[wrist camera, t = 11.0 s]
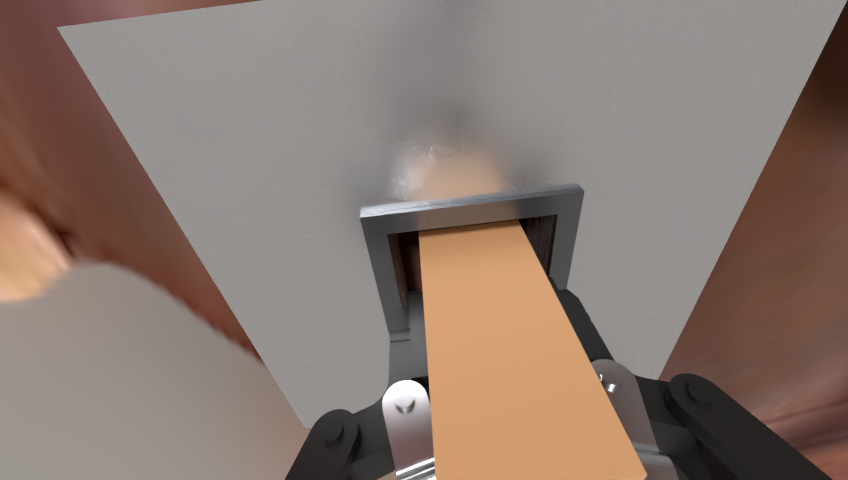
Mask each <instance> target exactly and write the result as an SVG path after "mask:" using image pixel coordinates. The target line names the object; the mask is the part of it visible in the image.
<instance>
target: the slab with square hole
mask: <svg viewBox="0 0 848 480" xmlns="http://www.w3.org/2000/svg"><path fill="white" fill-rule="evenodd" d="M846 2H847V0H263V1H255V2H248V3H240V4H232V5H225V6H217V7H209V8H201V9H194V10H186V11H178V12H171V13H163V14H155V15H148V16H140V17H132V18H125V19H117V20H109V21H102V22H94V23H86V24H79V25H71V26H63V27H57V29H58V30H59V32H60V33H61V35H62V37H63V38H64V40H65V41H66V43H67V45H68V46H69V48H70V50H71V51H72V53H73V54H74V56H75V58H76V59H77V61H78V62H79V64H80V66H81V67H82V69H83V71H84V72H85V74H86V75H87V77H88V79H89V80H90V82H91V83H92V85H93V87H94V88H95V90H96V92H97V93H98V95H99V96H100V98H101V100H102V101H103V103H104V104H105V106H106V108H107V109H108V111H109V113H110V114H111V116H112V117H113V119H114V121H115V122H116V124H117V126H118V127H119V129H120V130H121V132H122V134H123V135H124V137H125V138H126V140H127V142H128V143H129V145H130V147H131V148H132V150H133V151H134V153H135V155H136V156H137V158H138V159H139V161H140V163H141V164H142V166H143V168H144V169H145V171H146V172H147V174H148V176H149V177H150V179H151V180H152V182H153V184H154V185H155V187H156V189H157V190H158V192H159V193H160V195H161V197H162V198H163V200H164V201H165V203H166V205H167V206H168V208H169V210H170V211H171V213H172V214H173V216H174V218H175V219H176V221H177V222H178V224H179V226H180V227H181V229H182V231H183V232H184V234H185V235H186V237H187V239H188V240H189V242H190V243H191V245H192V247H193V248H194V250H195V252H196V253H197V255H198V256H199V258H200V260H201V261H202V263H203V264H204V266H205V268H206V269H207V271H208V273H209V274H210V276H211V277H212V279H213V281H214V282H215V284H216V285H217V287H218V289H219V290H220V292H221V294H222V295H223V297H224V298H225V300H226V302H227V303H228V305H229V306H230V308H231V310H232V311H233V313H234V315H235V316H236V318H237V319H238V321H239V323H240V324H241V326H242V327H243V329H244V331H245V332H246V334H247V336H248V337H249V339H250V340H251V342H252V344H253V345H254V347H255V349H256V350H257V352H258V353H259V355H260V357H261V358H262V360H263V361H264V363H265V365H266V366H267V368H268V370H269V371H270V373H271V374H272V376H273V378H274V379H275V381H276V382H277V384H278V386H279V387H280V389H281V391H282V392H283V394H284V395H285V397H286V399H287V400H288V402H289V403H290V405H291V407H292V408H293V410H294V412H295V413H296V415H297V416H298V418H299V420H300V421H301V423H302V424H303V426H304V428H311V427H313V426H314V424H315V423H316V421H317V420H318V419H319V418H320V417H321V416H322V415H324V414H325V413H327V412H329V411H332V410H336V409H344V410H347V411H349V412H351V413H352V414H354V413H356V412H358V411H360V410H363V409H365V408H367V407H369V406H371V405H373V404H374V403H376V402H377V401H378V400H379V399H380V398H381V397H382V396H383V394H384V393H385V391H386V389H387V386H388V380H389V352H390V322H391V317H392V315H393V313H394V311H395V310H396V308H398V307H407V306H409V292H414V291H408V288H407V283H406V277H405V272H404V267H403V261H402V256H401V250H400V245H399V239H398V234H397V233H402V232H410V231H419V230H428V229H436V228H445V227H453V226H462V225H471V224H479V223H488V222H496V221H505V220H513V219H522V218H526V226H525V234H526V236H527V238H528V240H529V242H530V244H531V246H532V248H533V250H534V252H535V254H536V256H537V258H538V260H539V262H540V264H541V266H542V268H543V270H544V272H545V274H546V276H547V277H552V279H553V280H554V282H555V284H556V286H557V288H558V290H561V289H568V290H569V291H571V292H572V293H573V294H574V295H575V296H577V297H578V298H579V300H580V301H581V303H582V305H583V306H584V308H585V311H586V312H587V313H588V315H589V317H590V319H591V322H593V324H594V326H595V327H596V329H597V331H598V333H599V334H600V336H601V338H602V340H603V341H604V343H605V345H606V347H607V348H608V350H609V352H610V354H611V355H612V357H613V358H614V360H615V361H616V362H618V363H620V364H622V365H623V366H625V367H626V368H627V369H628V370H630V371H631V373H632V374H634V375H637V376H640V377H644V378H649V379H654V380H658V378H659V376H660V374H661V372H662V370H663V368H664V366H665V364H666V362H667V360H668V358H669V356H670V354H671V352H672V350H673V348H674V346H675V344H676V342H677V340H678V338H679V336H680V334H681V332H682V330H683V328H684V326H685V324H686V322H687V320H688V318H689V316H690V314H691V312H692V310H693V308H694V306H695V304H696V302H697V300H698V298H699V296H700V294H701V292H702V290H703V288H704V286H705V284H706V282H707V280H708V278H709V276H710V274H711V272H712V270H713V268H714V266H715V264H716V262H717V260H718V258H719V256H720V254H721V252H722V250H723V248H724V246H725V244H726V242H727V240H728V238H729V236H730V234H731V232H732V230H733V228H734V226H735V224H736V222H737V220H738V218H739V216H740V214H741V212H742V210H743V208H744V206H745V204H746V202H747V200H748V198H749V196H750V194H751V192H752V190H753V188H754V186H755V184H756V182H757V180H758V178H759V176H760V174H761V172H762V170H763V168H764V166H765V164H766V162H767V160H768V158H769V156H770V154H771V152H772V150H773V148H774V146H775V144H776V142H777V140H778V138H779V136H780V134H781V132H782V130H783V128H784V126H785V124H786V122H787V120H788V118H789V116H790V114H791V112H792V110H793V108H794V106H795V104H796V102H797V100H798V98H799V96H800V94H801V92H802V90H803V88H804V86H805V84H806V82H807V80H808V78H809V76H810V74H811V72H812V70H813V68H814V66H815V64H816V62H817V60H818V58H819V56H820V54H821V52H822V50H823V48H824V46H825V44H826V42H827V40H828V38H829V36H830V34H831V32H832V30H833V28H834V26H835V24H836V22H837V20H838V18H839V16H840V14H841V12H842V10H843V8H844V6H845V4H846ZM416 291H423V290H416Z"/></svg>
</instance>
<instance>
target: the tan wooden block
mask: <svg viewBox="0 0 848 480" xmlns="http://www.w3.org/2000/svg"><path fill="white" fill-rule="evenodd" d="M419 246H420V260H421V275H422V289H423V304H424V318H425V333H426V347H427V362H428V376H429V391H430V405H431V419H432V434H433V448H434V463H435V477H436V480H644V479H645V478H646V476H647V473H646V471H645V469H644V467H643V465H642V463H641V461H640V459H639V457H638V455H637V453H636V451H635V449H634V447H633V445H632V443H631V441H630V440H629V438H628V436H627V434H626V432H625V430H624V428H623V426H622V424H621V422H620V420H619V418H618V416H617V414H616V412H615V410H614V408H613V406H612V404H611V402H610V400H609V398H608V396H607V394H606V392H605V390H604V388H603V386H602V384H601V382H600V380H599V378H598V376H597V374H596V372H595V371H594V369H593V367H592V365H591V363H590V361H589V359H588V357H587V355H586V353H585V351H584V349H583V347H582V345H581V343H580V341H579V339H578V337H577V335H576V333H575V331H574V329H573V327H572V325H571V323H570V321H569V319H568V317H567V315H566V313H565V311H564V309H563V307H562V305H561V303H560V302H559V300H558V298H557V296H556V294H555V292H554V290H553V288H552V286H551V284H550V282H549V280H548V278H547V276H546V274H545V272H544V270H543V268H542V266H541V264H540V262H539V260H538V258H537V256H536V254H535V252H534V250H533V248H532V246H531V244H530V242H529V240H528V238H527V236H526V234H525V233H524V231H523V229H522V227H521V225H520V223H519V221H518V220H514V221H505V222H497V223H488V224H479V225H471V226H462V227H454V228H445V229H436V230H428V231H419Z"/></svg>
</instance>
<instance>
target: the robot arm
mask: <svg viewBox="0 0 848 480" xmlns="http://www.w3.org/2000/svg"><path fill="white" fill-rule="evenodd" d="M547 278H548V280H549V282H550V284H551V286H552V288H553V290H554V292H555V294H556V296H557V298H558V300H559V302H560V303H561V305H562V307H563V309H564V311H565V313H566V315H567V317H568V319H569V321H570V323H571V325H572V327H573V329H574V331H575V333H576V335H577V337H578V339H579V341H580V343H581V345H582V347H583V349H584V351H585V353H586V355H587V357H588V359H589V361H590V363H591V365H592V367H593V369H594V371H595V372H596V374H597V376H598V378H599V380H600V382H601V384H602V386H603V388H604V390H605V392H606V394H607V396H608V398H609V400H610V402H611V404H612V406H613V408H614V410H615V412H616V414H617V416H618V418H619V420H620V422H621V424H622V426H623V428H624V430H625V432H626V434H627V436H628V438H629V440H630V441H631V443H632V445H633V447H634V449H635V451H636V453H637V455H638V457H639V459H640V461H641V463H642V465H643V467H644V469H645V471H646V473H647V476H646V478H645V479H644V480H832V479H831V478H830V477H829V476H827V475H826V474H825V473H824V472H822V471H821V470H820V469H819V468H818V467H816V466H815V465H814V464H813V463H811V462H810V461H809V460H808V459H806V458H805V457H804V456H803V455H801V454H800V453H799V452H798V451H797V450H795V449H794V448H793V447H792V446H790V445H789V444H788V443H787V442H785V441H784V440H783V439H782V438H780V437H779V436H778V435H777V434H775V433H774V432H773V431H772V430H771V429H769V428H768V427H767V426H766V425H764V424H763V423H762V422H761V421H759V420H758V419H757V418H756V417H754V416H753V415H752V414H751V413H750V412H748V411H747V410H746V409H745V408H743V407H742V406H741V405H740V404H738V403H737V402H736V401H735V400H733V399H732V398H731V397H730V396H729V395H727V394H726V393H725V392H724V391H722V390H721V389H720V388H719V387H717V386H716V385H715V384H713V383H712V382H710V381H709V380H707V379H705V378H703V377H700V376H697V375H694V374H678V375H676V376H674V377H673V378H672V379H671V381H670V382H665V381H660V380H654V379H649V378H644V377H640V376H637V375H634V374H632V373H631V371H630V370H628V369H627V368H626V367H625V366H623V365H622V364H620V363H618V362H616V361H615V360H614V358H613V357H612V355H611V354H610V352H609V350H608V348H607V347H606V345H605V343H604V341H603V340H602V338H601V336H600V334H599V333H598V331H597V329H596V327H595V326H594V324H593V322H591V319H590V317H589V315H588V313H587V312H586V311H585V308H584V306H583V305H582V303H581V301H580V300H579V298H578V297H577V296H575V295H574V294H573V293H572V292H571V291H569V290H568V289H561V290H558V288H557V286H556V284H555V282H554V280H553V279H552V277H547ZM394 470H396V474H397V480H436V477H435V463H434V448H433V434H432V419H431V405H430V391H429V376H428V362H427V347H426V333H425V318H424V304H423V291H414V292H409V306H407V307H398V308H396V310H395V311H394V313H393V315H392V317H391V322H390V352H389V380H388V386H387V389H386V391H385V393H384V394H383V396H382V397H381V398H380V399H379V400H378V401H377V402H376V403H374V404H373V405H371V406H369V407H367V408H365V409H363V410H360V411H358V412H356V413H354V414H352V413H351V412H349V411H347V410H344V409H336V410H332V411H329V412H327V413H325V414H324V415H322V416H321V417H320V418H319V419H318V420H317V421H316V423H315V424H314V426H313V427H312V429H311V431H310V433H309V435H308V437H307V439H306V441H305V442H304V444H303V446H302V448H301V450H300V452H299V454H298V456H297V458H296V460H295V462H294V463H293V465H292V467H291V469H290V471H289V473H288V474H287V476H286V478H285V480H377V479H379V478H381V477H383V476H385V475H387V474H389V473H391V472H393V471H394Z"/></svg>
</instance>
